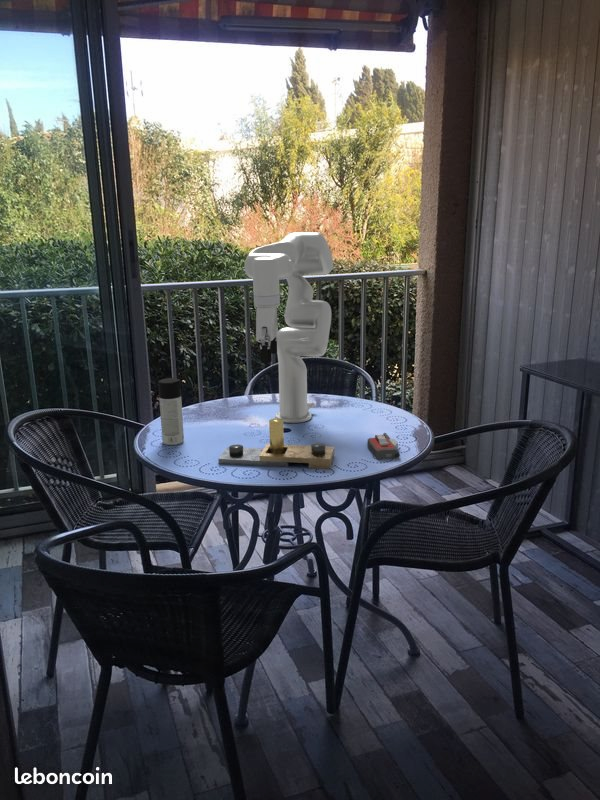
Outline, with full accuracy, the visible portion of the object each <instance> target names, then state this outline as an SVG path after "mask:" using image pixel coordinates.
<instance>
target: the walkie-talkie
mask: <svg viewBox="0 0 600 800" xmlns="http://www.w3.org/2000/svg"><path fill="white" fill-rule="evenodd" d="M366 443H367V444H366V446H367V448H368V450H369V451H370V452H371V453H372V455H373V456H374V458H375V459H376V460H387V459H397V458H399V457H400V456H401V455H400V452H399V443H398V442H397V440H396V439H395V438H391V437H390V436H389V435H388V434H387V433H386V432H384V433H383V434H375V436H374V437H369V438H367V442H366Z"/></svg>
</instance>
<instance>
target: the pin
mask: <svg viewBox="0 0 600 800" xmlns="http://www.w3.org/2000/svg"><path fill="white" fill-rule="evenodd" d="M268 422H269V423H268V425H269V444H270V454H284V445H285V443H284V442H285V441H284V440H285V439H284V433H285V432H284V422H283V419H280V418H275V417H274V418H270V419H269V420H268Z"/></svg>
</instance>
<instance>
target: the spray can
mask: <svg viewBox="0 0 600 800" xmlns="http://www.w3.org/2000/svg"><path fill="white" fill-rule="evenodd" d="M157 385H158V399H159V410H160V412H159V413H160V414H159V415H160V424H161V425H160V426H161V427H160V428H161V437H162V443H163V445H167V446H177V444H178V445H181V444H182V443H184V440H185V437H184V435H185V434H184V433H185V432H184V422H183V421H184V420H183V406H182V402H183V401H182V391H181V379H179V378H177V377H167V378H163V379H160V380H158V384H157Z"/></svg>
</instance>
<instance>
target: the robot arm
mask: <svg viewBox="0 0 600 800" xmlns="http://www.w3.org/2000/svg"><path fill="white" fill-rule="evenodd" d="M333 266H334V259H333V255H332V251H331V249H330V247H329V244H328V241H327V239H326V237H325V236H324V234H322V233H320V232H316V231H313V232H312V231H311V232H309V231H308V232H307V231H300V232H297V231H296V232H290V233H288V234H286V236H284V237H283V238H282V239H280V240H279V241H278V242H273V243H271V244H266V245H263V246H259V247H257V248H254V249H253V250H252V251H250V252H249V253H248V255H247V256H246V258H245V259H244V266H243V267H244V273H245V275H246V276H247V277H249V278H250V279H252V284H253V286H252V289H253V306H254V308H255V307H256V311H255V312H256V314H255V317H256V318H255V319H256V320H255V325H256V326H255V329H256V330H255V337H256V341H257V342H259V341H260V342H259V343H260V344H259V355H260V356H259V357H260V362H261V363H272V360H273V358H272V354H273V355H274V354H275V355H276V354H277V361H278V362H277V363H278V391H279V392H278V396H279V397H278V398H279V403H278V404H279V406H278V407H279V411H278V412H276V413H275V415H274V418H280V419H283V423H287V424H290V423H291V424H296V423H297V424H298V423H305V422H307V421H310V420H311V419H312V415H313V414H312V412H310V411H309V410H310V409H312V408H315V406H316V404H315V402H313V401H311V402H308V381H307V380H308V376H307V374H308V370H307V366H306V363H305V362H304V360H303V359H302V358H301V357H312V358H313V357H322V356H324V355H325V354H326V352H327V349H328V344H329V338H330V337H329V336H330V331H331V325H332V308H331V305H330V303H329V302H328V301H325V300H319V299H316V300H314V299H313V297H314V288H313V287H312V285H311V283H310V282H309V281H308V280H307V279H306V278H305V277H304V275H307V276H325V275H328V274H330V273H331V272H332V271H333ZM280 280H286V282H287V285H288V295H287V300H286V306H285V310H284V321H285V323H286V325H287V326H286V327H282V328H280V329H279V330H278V327H279V326H278V307H280V306H281V304H280V303H281V299H280V298H281V296H280Z"/></svg>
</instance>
